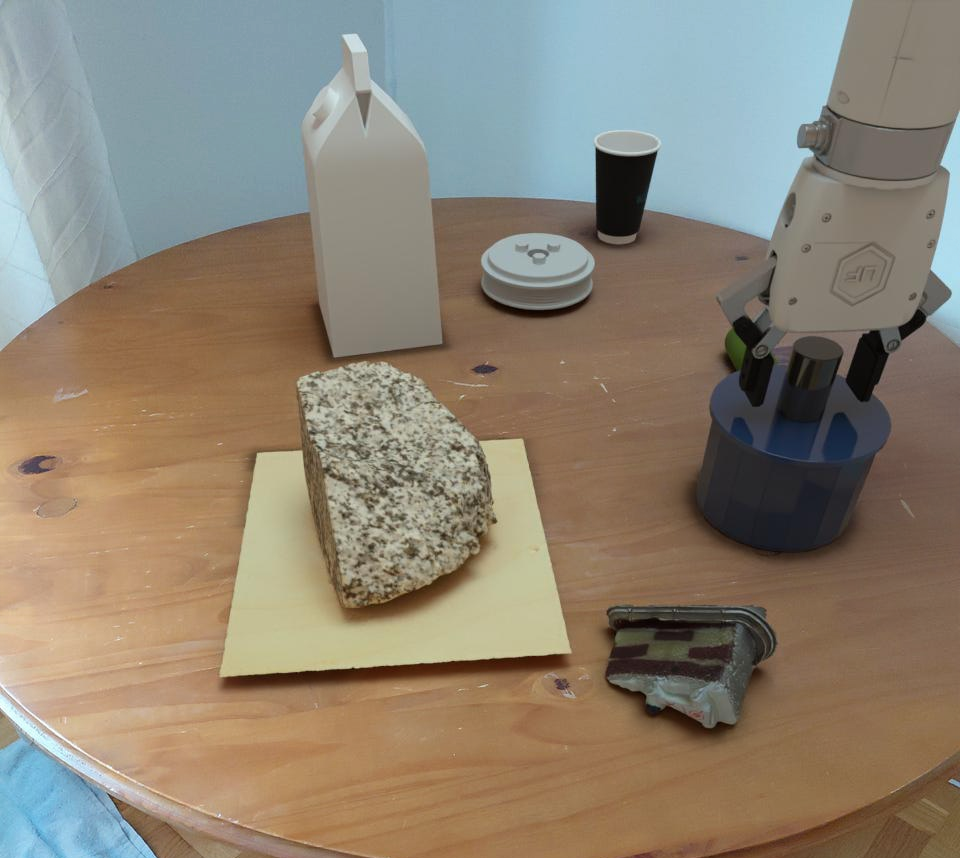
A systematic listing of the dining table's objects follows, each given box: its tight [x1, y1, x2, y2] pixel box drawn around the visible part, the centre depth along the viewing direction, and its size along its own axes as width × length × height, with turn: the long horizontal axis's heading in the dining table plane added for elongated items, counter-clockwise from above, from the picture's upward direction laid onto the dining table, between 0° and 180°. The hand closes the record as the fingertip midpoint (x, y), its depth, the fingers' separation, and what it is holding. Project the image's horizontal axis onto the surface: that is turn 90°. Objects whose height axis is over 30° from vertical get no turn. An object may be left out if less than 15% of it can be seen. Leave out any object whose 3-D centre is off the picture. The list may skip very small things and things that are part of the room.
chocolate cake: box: [604, 603, 779, 729], centre depth 60 cm, size 10×7×12 cm
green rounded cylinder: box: [724, 327, 778, 372], centre depth 88 cm, size 9×4×4 cm, turn 5°
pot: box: [695, 420, 877, 553], centre depth 72 cm, size 13×13×8 cm
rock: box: [218, 360, 573, 678], centre depth 70 cm, size 28×22×16 cm
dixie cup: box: [592, 129, 662, 245], centre depth 108 cm, size 8×8×11 cm
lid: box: [480, 232, 596, 311], centre depth 100 cm, size 13×13×5 cm
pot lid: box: [708, 335, 892, 468], centre depth 67 cm, size 14×14×6 cm
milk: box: [301, 33, 444, 359], centre depth 87 cm, size 12×12×26 cm
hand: (804, 393), depth 68 cm, fingers open, 7 cm apart
